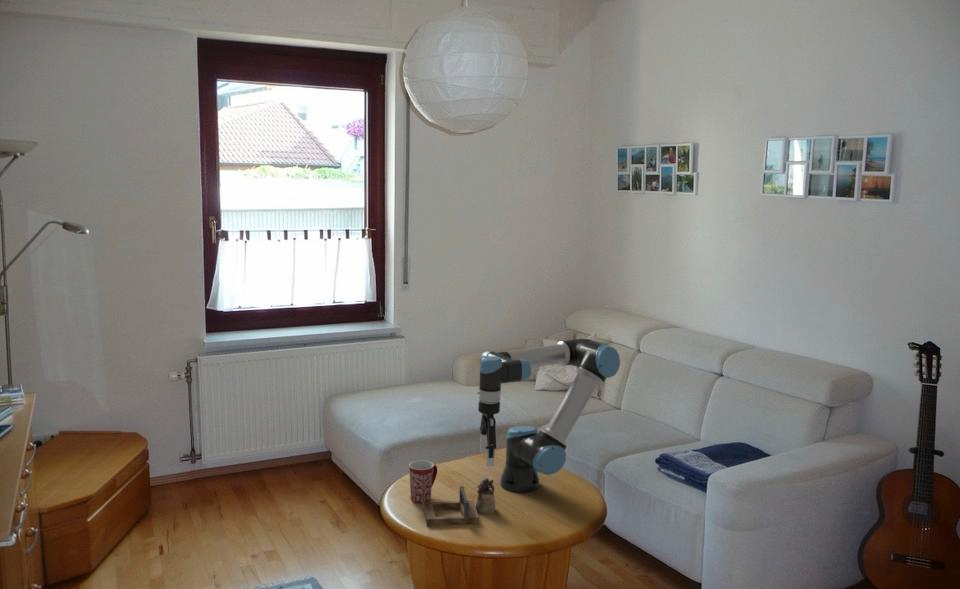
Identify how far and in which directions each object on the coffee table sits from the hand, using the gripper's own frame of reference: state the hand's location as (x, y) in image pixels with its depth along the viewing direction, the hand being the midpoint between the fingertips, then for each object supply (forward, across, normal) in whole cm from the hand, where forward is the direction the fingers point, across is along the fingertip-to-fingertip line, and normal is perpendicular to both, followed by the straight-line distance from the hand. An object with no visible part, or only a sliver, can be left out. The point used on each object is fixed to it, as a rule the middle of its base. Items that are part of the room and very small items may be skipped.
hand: (486, 459), depth 282 cm
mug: (+20, -12, -21) cm, 31 cm away
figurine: (+20, 0, 0) cm, 20 cm away
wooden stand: (+19, +4, -13) cm, 24 cm away
